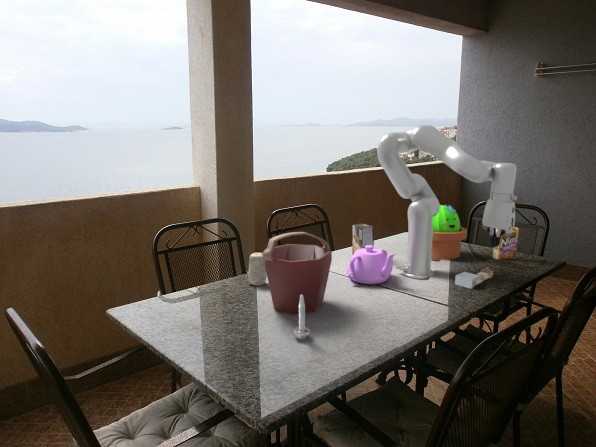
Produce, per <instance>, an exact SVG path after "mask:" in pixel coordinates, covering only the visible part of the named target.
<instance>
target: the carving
mask: <svg viewBox="0 0 596 447" xmlns="http://www.w3.org/2000/svg"><path fill="white" fill-rule="evenodd" d="M262 253H263V252H253V253H251V254H249V262H248V273H247V274H248V282H249V284H251V285H253V286H258V287H259V286H264V285H265V283H266V281H267V279H268V278H267V273H266V268H265V259H264V257H263V255H262Z"/></svg>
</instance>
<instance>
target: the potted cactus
mask: <svg viewBox="0 0 596 447" xmlns="http://www.w3.org/2000/svg"><path fill="white" fill-rule="evenodd" d="M432 224H433V240H432V258H431V261H437V262H441V261H442V260H454V259H457V258H460V256H461V246H462V241H464V240H466V239H467V237H468V229H467V228H466V227H462V225H461V222H460V218H459V214H458V213H457V211H456V209H454V208H453V206H452V205H450V204H448V205H444V204H443V205H442V204H440V210H439V212H438V214H437V215H436V216H435V217H433V218H432Z"/></svg>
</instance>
